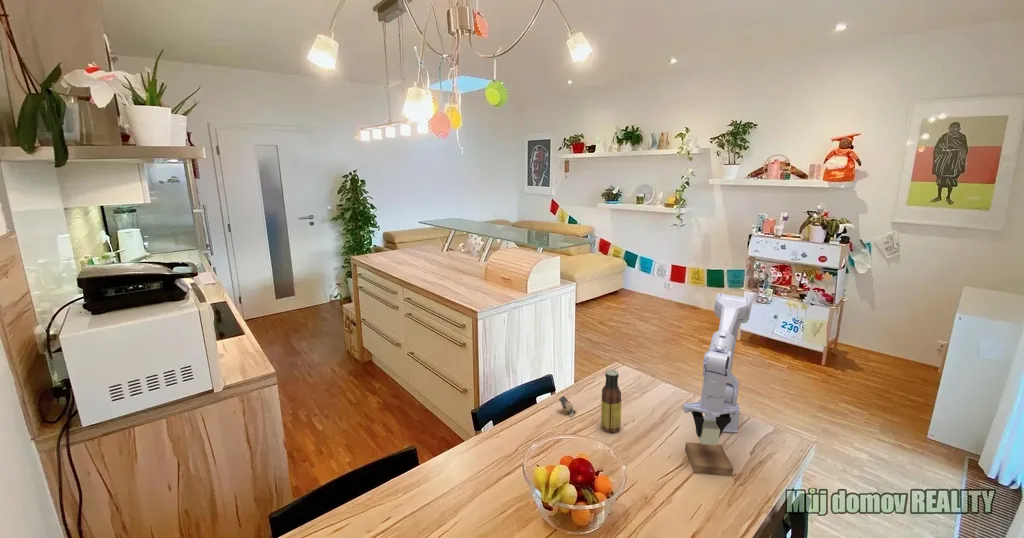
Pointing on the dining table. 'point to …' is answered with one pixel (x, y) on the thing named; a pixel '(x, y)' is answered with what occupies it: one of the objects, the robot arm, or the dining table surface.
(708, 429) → the sage cube
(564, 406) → the bird figurine
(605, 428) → the sauce bottle
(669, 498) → the dining table surface
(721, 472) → the walnut block
